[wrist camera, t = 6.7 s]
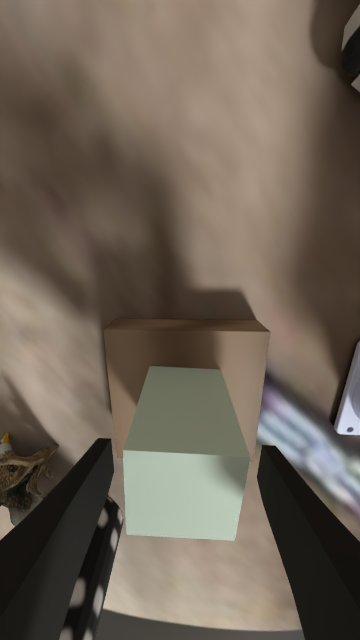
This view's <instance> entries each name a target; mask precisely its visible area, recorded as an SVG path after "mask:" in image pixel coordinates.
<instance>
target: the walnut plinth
mask: <svg viewBox="0 0 360 640" xmlns="http://www.w3.org/2000/svg"><path fill="white" fill-rule="evenodd" d="M103 334H104V343H105V353H106V362H107V371H108V380H109V389H110V398H111V407H112V416H113V425H114V434H115V443H116V452H117V458H123V449H124V445H125V442H126V439H127V436H128V433H129V430H130V427H131V423H132V420H133V417H134V414H135V411H136V408H137V404H138V401H139V398H140V395H141V392H142V389H143V386H144V382H145V379H146V376H147V373H148V370H149V367H150V366H161V367H180V368H199V369H219V370H221V371H222V374H223V377H224V380H225V383H226V386H227V389H228V392H229V395H230V398H231V401H232V404H233V407H234V410H235V413H236V416H237V419H238V422H239V425H240V428H241V431H242V434H243V437H244V440H245V443H246V446H247V449H248V452H249V455H250V461H251V462H253V460H254V453H255V445H256V437H257V430H258V422H259V414H260V407H261V399H262V391H263V384H264V376H265V368H266V361H267V353H268V345H269V338H270V331H269V330H268V329H266V328H265V327H264V326H263V325H262V324H261V323H260V322H258V321H257V320H200V319H115V320H114V321H113V322H112V323H111V324H110V325H108V326H107V327H106V328H105V329H104V330H103Z"/></svg>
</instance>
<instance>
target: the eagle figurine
mask: <svg viewBox="0 0 360 640" xmlns="http://www.w3.org/2000/svg"><path fill="white" fill-rule="evenodd" d="M58 447H59V445H55V446H52V447H45V448H43V449H41V450H39V451H38V452H37V453H35V454H34V455H32V456H30V457H29V456H27V457H21V456H17V455H15V454H14V453H13V451H12V449H11V444H10V442H9V432H7V433H5V435H4V437H3V438H2V440H1V441H0V506H1V505H3V506H5V507H7V508H8V509H9V512H10V519H11V522H12V524H13V525H14V526H16V525H18V524H19V523H20V522H21V521H22V520H23V519H24V518H25V517H26V516H27V515H28V514H29V513H30V512H31V511H32V510H33V509H34V508H35V507H36V506H37V505H38V504H39V503H40V502H41V501H42V500H43V498H42V497H41V496H40V492H39V491H38V490H37V479H38V476H39V474H40V473H41V471H43V472H44V474H45V476H46V477H48V478H53V475H54V474H53V472H52V471H50V470H48V466H47V461H48V460H49V458H50V457H51V455H52V454H53V453H54V452H55V451H56V450H57V449H58ZM29 479H30V481H29V490H30V492H29V493H27V491H26V484H27V482H28V480H29ZM31 493H33V494H31Z"/></svg>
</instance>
